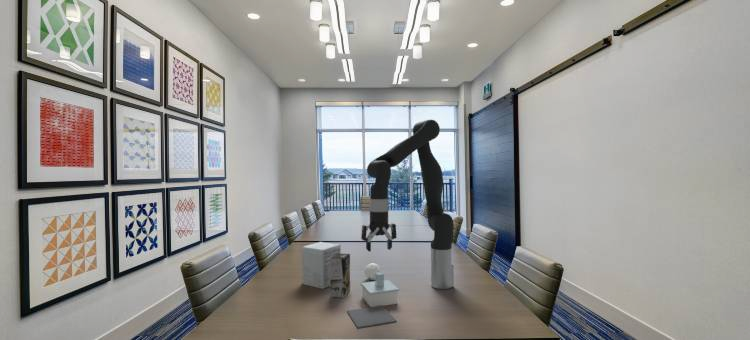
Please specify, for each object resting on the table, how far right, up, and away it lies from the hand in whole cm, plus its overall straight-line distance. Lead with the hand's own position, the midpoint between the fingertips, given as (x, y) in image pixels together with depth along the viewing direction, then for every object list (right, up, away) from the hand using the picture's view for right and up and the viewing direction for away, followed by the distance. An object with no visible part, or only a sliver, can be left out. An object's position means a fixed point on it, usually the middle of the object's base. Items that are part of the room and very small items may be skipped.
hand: (379, 250), depth 133 cm
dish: (0, -20, 0) cm, 20 cm away
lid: (0, -15, 0) cm, 15 cm away
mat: (-3, -20, -15) cm, 25 cm away
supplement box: (-27, -21, +22) cm, 41 cm away
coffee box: (-16, -21, +8) cm, 27 cm away
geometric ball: (-3, -21, +26) cm, 34 cm away
